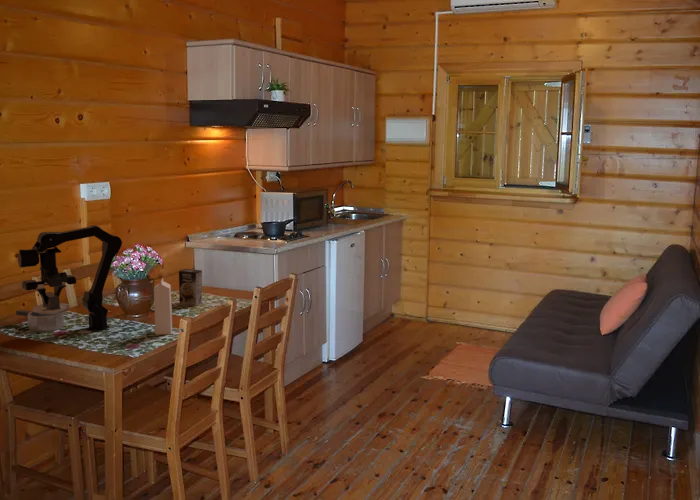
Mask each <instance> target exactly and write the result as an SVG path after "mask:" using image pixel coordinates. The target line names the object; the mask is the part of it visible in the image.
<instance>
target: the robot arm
mask: <svg viewBox="0 0 700 500" xmlns="http://www.w3.org/2000/svg"><path fill="white" fill-rule="evenodd" d="M91 237H95V238H97V239H98V240H99V241H101V242H102V245H101V257H100V260H99V264H98V266H97V270H96V272H95V276H94V279H93V282H92V285H91V288H90V289H89V291H87V290H85V291H84V292H83V296H82V298H81V301H82V307H83V308H85V309H86V310H87V311H88V327H86V329H87V330H91V331H99V332H100V331H103V330H105V329H108V328H110V325H108V318H107V317H108V316H107V315H108V312H109V309H107V308H106V307H105V306H103V299H104V298H103V297H104V295H103V292H104V288H105V284H106V281H107V279H108V275H109V272H110V269H111V266H112V262H113V259H114V258H115V257H116V255H118V253H119V252H120V249H121V248H122V244H123V241H122V238H120V237H119V236H118V235H115V234H111V233H109V232H107V231H105V230H104V229H102V228H101V227H100V226H98V225H90V226H86V227H81V228H76V229H71V230H64V231H42V232H40V233H39V234H38V235H37V238H36V241H35V243H34V245H33V246H32V247H31V248H29V249H26V248H25V249H22V248H21V249H18V256H17V263H18V267H19V268H30V267H31V268H32V267H36V266H37V265H38V264H39V270H40V281H38V280H37V281H36V280H34V279H28V280H23V281H22V283H21V288H22V289H23V290H25V291H32V290H33V291H34V290H35V291H37V292H38V294H39V295H40V297H41V300H42V299H43V301H44V303H45V305H47V299H46V290H47V289H46V288H45V286H49V287H50V288H53V291H54V292H53V293H54V294H56V295H58V296H59V297H60V295H61V293H62V291H63V289H64V288H66V287H67V285H68V286H69V285H76V284H77V277H75V276H74V275H72V274H67V272H66V271H64V272H63V271H62V272H59V269H58V266H57V254H59V253H62V250H61V249H59V248H58V247H57V246H60V245H61V244H63V243H66V242H71V241H77V240H81V239H86V238H91ZM66 284H67V285H66Z"/></svg>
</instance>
